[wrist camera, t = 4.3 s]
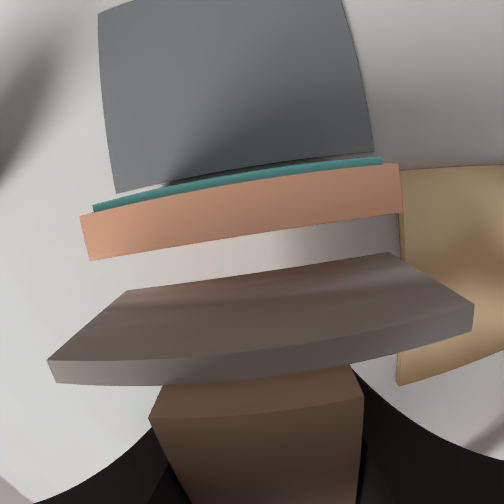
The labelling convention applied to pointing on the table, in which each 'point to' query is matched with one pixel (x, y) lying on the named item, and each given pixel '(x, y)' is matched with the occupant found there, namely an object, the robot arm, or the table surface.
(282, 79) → the slate mat
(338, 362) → the brown grey t-shaped block
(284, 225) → the tile
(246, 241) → the table surface
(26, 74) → the table surface
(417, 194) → the oak board
